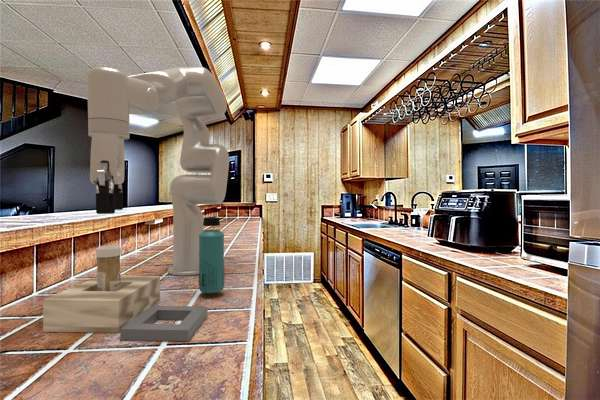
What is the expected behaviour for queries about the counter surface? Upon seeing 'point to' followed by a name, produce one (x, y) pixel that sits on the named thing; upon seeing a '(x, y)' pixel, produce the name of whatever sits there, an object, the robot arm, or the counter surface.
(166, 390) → the counter surface
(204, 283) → the beverage bottle
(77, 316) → the birch dock block
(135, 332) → the charcoal collar
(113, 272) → the sprinkles bottle
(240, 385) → the counter surface
